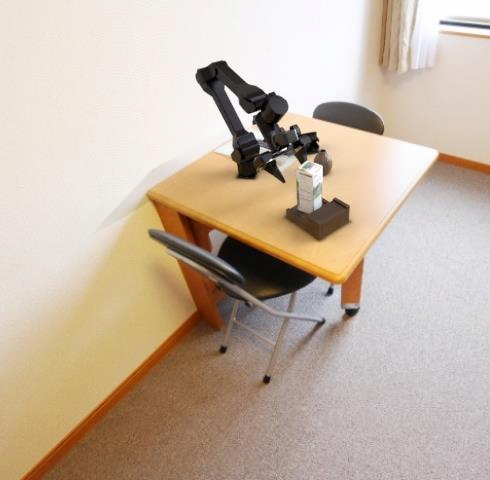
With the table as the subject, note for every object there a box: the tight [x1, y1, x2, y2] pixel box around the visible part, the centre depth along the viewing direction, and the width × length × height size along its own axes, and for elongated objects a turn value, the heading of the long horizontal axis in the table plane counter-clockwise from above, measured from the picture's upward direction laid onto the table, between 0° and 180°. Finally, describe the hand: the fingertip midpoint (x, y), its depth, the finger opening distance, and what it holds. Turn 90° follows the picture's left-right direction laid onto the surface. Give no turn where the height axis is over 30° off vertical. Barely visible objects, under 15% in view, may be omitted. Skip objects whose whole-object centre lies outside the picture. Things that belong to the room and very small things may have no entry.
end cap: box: [290, 131, 320, 155], centre depth 139 cm, size 10×7×7 cm
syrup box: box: [295, 160, 324, 214], centre depth 103 cm, size 6×6×14 cm
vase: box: [312, 148, 333, 176], centre depth 125 cm, size 7×7×9 cm
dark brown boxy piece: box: [285, 197, 351, 241], centre depth 106 cm, size 15×12×6 cm
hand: (296, 177), depth 105 cm, fingers open, 9 cm apart
